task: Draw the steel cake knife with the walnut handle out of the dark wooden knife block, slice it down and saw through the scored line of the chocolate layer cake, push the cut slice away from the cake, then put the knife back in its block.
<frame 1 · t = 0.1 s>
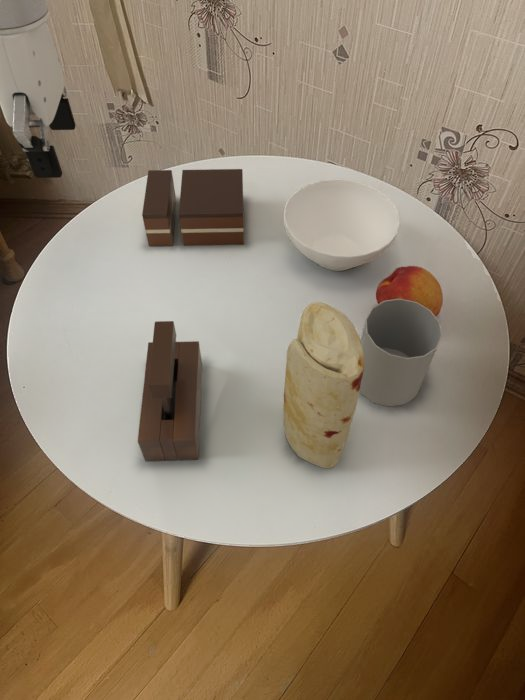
hand: (56, 151, 70), 16 cm above the table, tool pointing down, fingers open, 9 cm apart
cake: (201, 222, 87), on the table
bowl: (335, 253, 83), on the table
food model: (311, 437, 66), on the table
knife block: (175, 410, 67), on the table
cup: (386, 378, 70), on the table
knife: (168, 383, 63), in the knife block
fruit: (404, 315, 76), on the table
cake slice: (163, 223, 87), on the table
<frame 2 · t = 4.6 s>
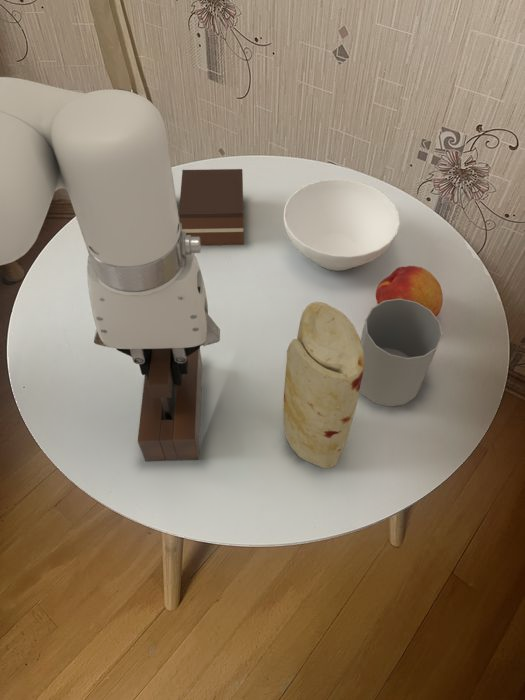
hand: (166, 373, 61), 8 cm above the table, tool pointing down, fingers closed on knife, 2 cm apart
knife: (168, 383, 63), in the knife block, touching gripper
everything else where it was.
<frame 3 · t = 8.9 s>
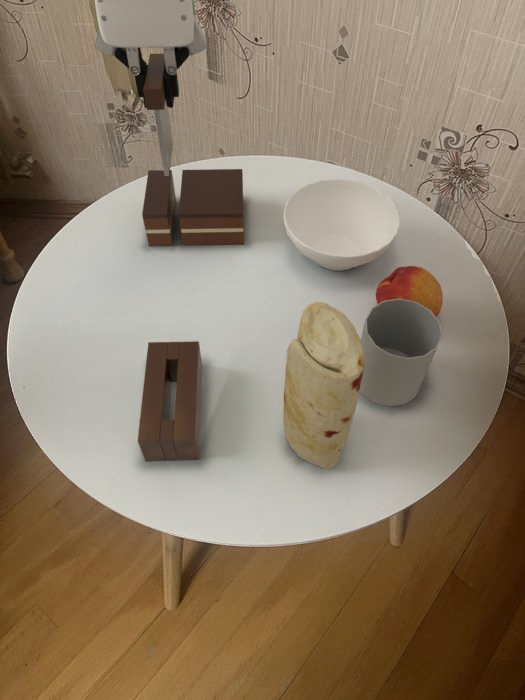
hand: (159, 100, 68), 21 cm above the table, tool pointing down, fingers closed on knife
knife: (162, 118, 70), point 19 cm above the table, touching gripper
everything else where it was.
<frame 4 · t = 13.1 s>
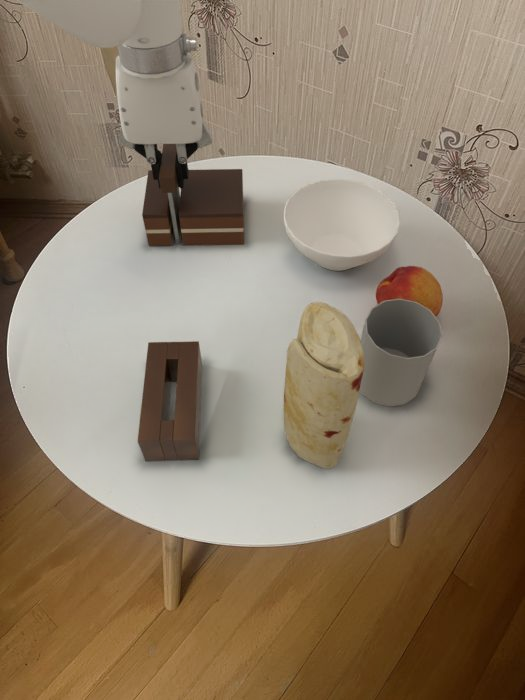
hand: (172, 181, 79), 8 cm above the table, tool pointing down, fingers closed on knife, 2 cm apart
knife: (174, 194, 81), on the table, touching gripper
everything else where it was.
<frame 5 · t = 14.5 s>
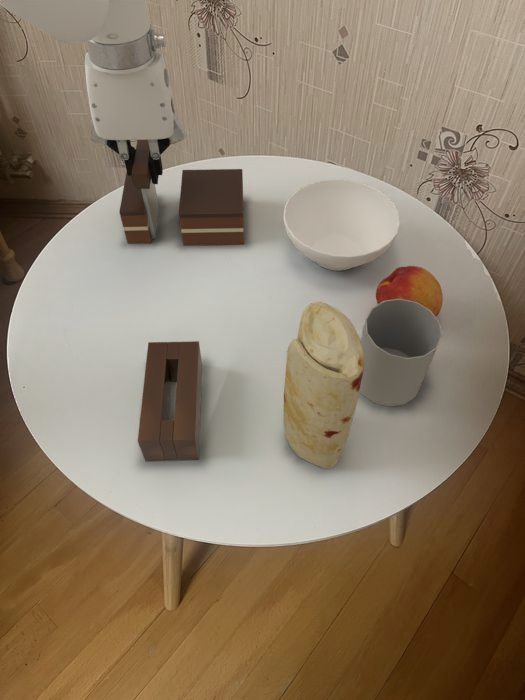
hand: (146, 177, 80), 8 cm above the table, tool pointing down, fingers closed on knife, 2 cm apart
knife: (149, 191, 82), on the table, touching cake slice, gripper
cake slice: (142, 220, 87), on the table, touching knife
everything else where it was.
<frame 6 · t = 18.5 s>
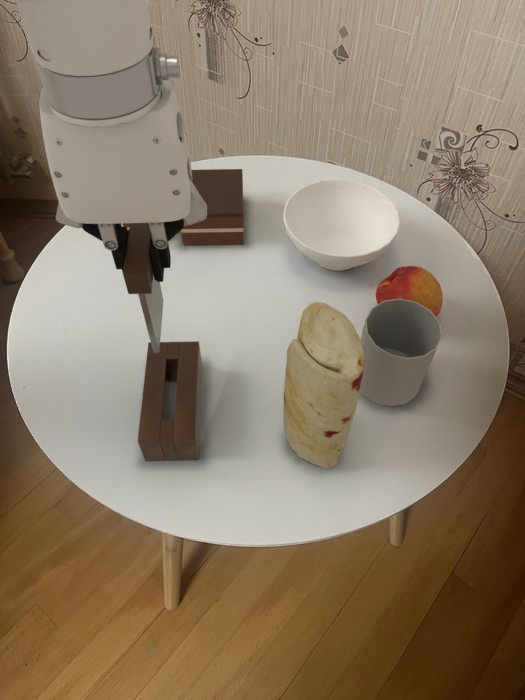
hand: (145, 270, 52), 21 cm above the table, tool pointing down, fingers closed on knife
knife: (149, 286, 54), point 19 cm above the table, touching gripper
cake slice: (142, 220, 87), on the table
everything else where it was.
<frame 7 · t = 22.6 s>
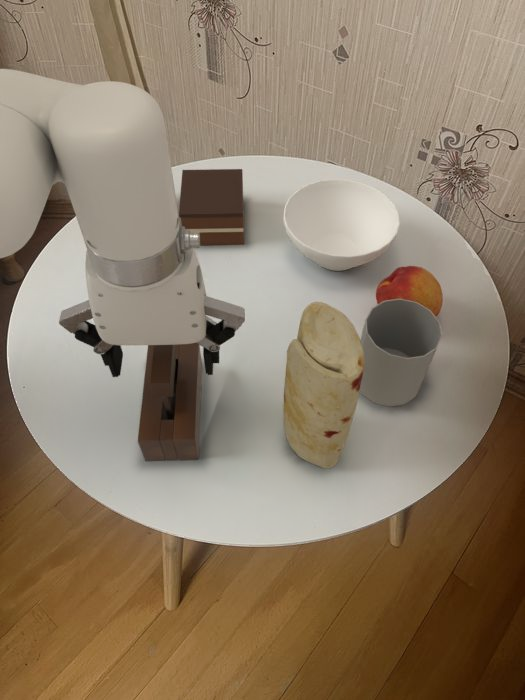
hand: (164, 364, 60), 10 cm above the table, tool pointing down, fingers open, 9 cm apart
knife: (170, 382, 63), in the knife block
everything else where it was.
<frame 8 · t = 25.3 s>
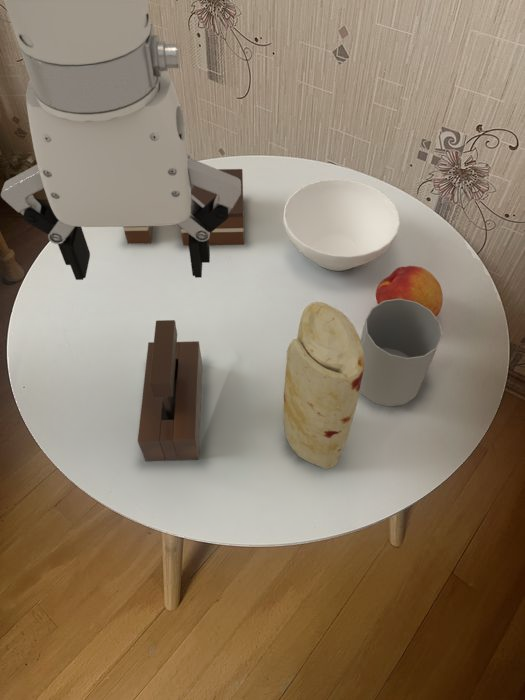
hand: (141, 266, 48), 24 cm above the table, tool pointing down, fingers open, 9 cm apart
nothing on the table moved.
at the end: cake slice 0.7 cm from the target spot on the table beside the cake, on the table; cake slice tilted 0°; knife 0.1 cm off-centre on the knife block, point 6.0 cm above the knife block's base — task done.
